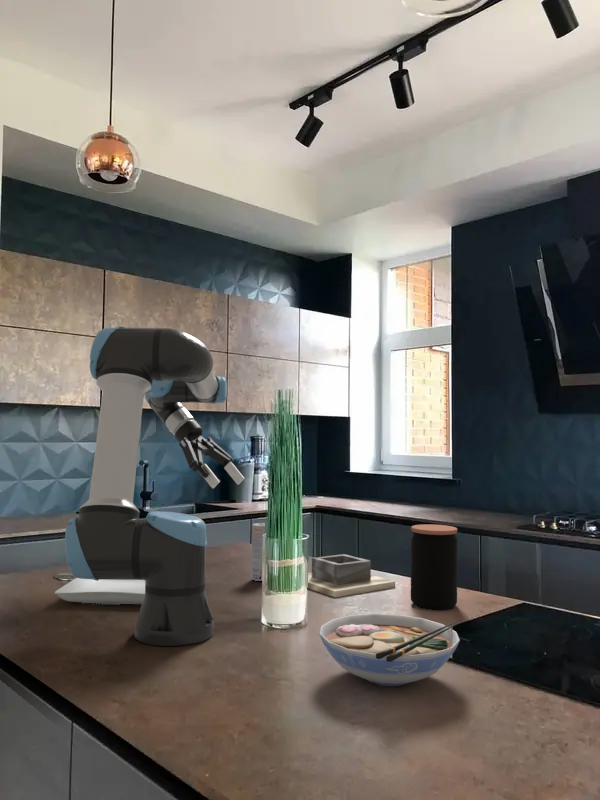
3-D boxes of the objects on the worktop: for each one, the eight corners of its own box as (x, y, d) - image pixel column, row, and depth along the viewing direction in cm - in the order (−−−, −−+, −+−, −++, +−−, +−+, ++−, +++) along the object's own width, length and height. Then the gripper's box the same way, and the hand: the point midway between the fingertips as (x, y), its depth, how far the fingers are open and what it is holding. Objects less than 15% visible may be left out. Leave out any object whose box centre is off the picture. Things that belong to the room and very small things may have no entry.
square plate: (173, 611, 148) (173, 593, 148) (51, 608, 149) (52, 591, 149) (195, 583, 175) (195, 568, 175) (91, 581, 176) (92, 566, 176)
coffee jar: (454, 600, 160) (454, 525, 161) (460, 612, 149) (460, 531, 150) (409, 598, 161) (409, 523, 162) (412, 610, 150) (412, 530, 151)
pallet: (395, 587, 173) (395, 561, 173) (335, 597, 161) (335, 570, 161) (345, 573, 189) (346, 550, 189) (287, 581, 177) (288, 556, 178)
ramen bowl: (371, 644, 125) (371, 600, 126) (486, 674, 111) (486, 624, 111) (284, 682, 106) (285, 629, 107) (410, 723, 92) (411, 663, 92)
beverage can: (269, 583, 175) (270, 525, 176) (248, 581, 176) (249, 524, 177) (274, 578, 181) (275, 523, 181) (254, 577, 182) (255, 522, 182)
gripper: (200, 436, 203) (242, 488, 197) (150, 437, 181) (195, 496, 174) (215, 419, 201) (258, 471, 195) (166, 418, 179) (213, 477, 172)
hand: (229, 483), depth 184 cm, fingers open, 13 cm apart
